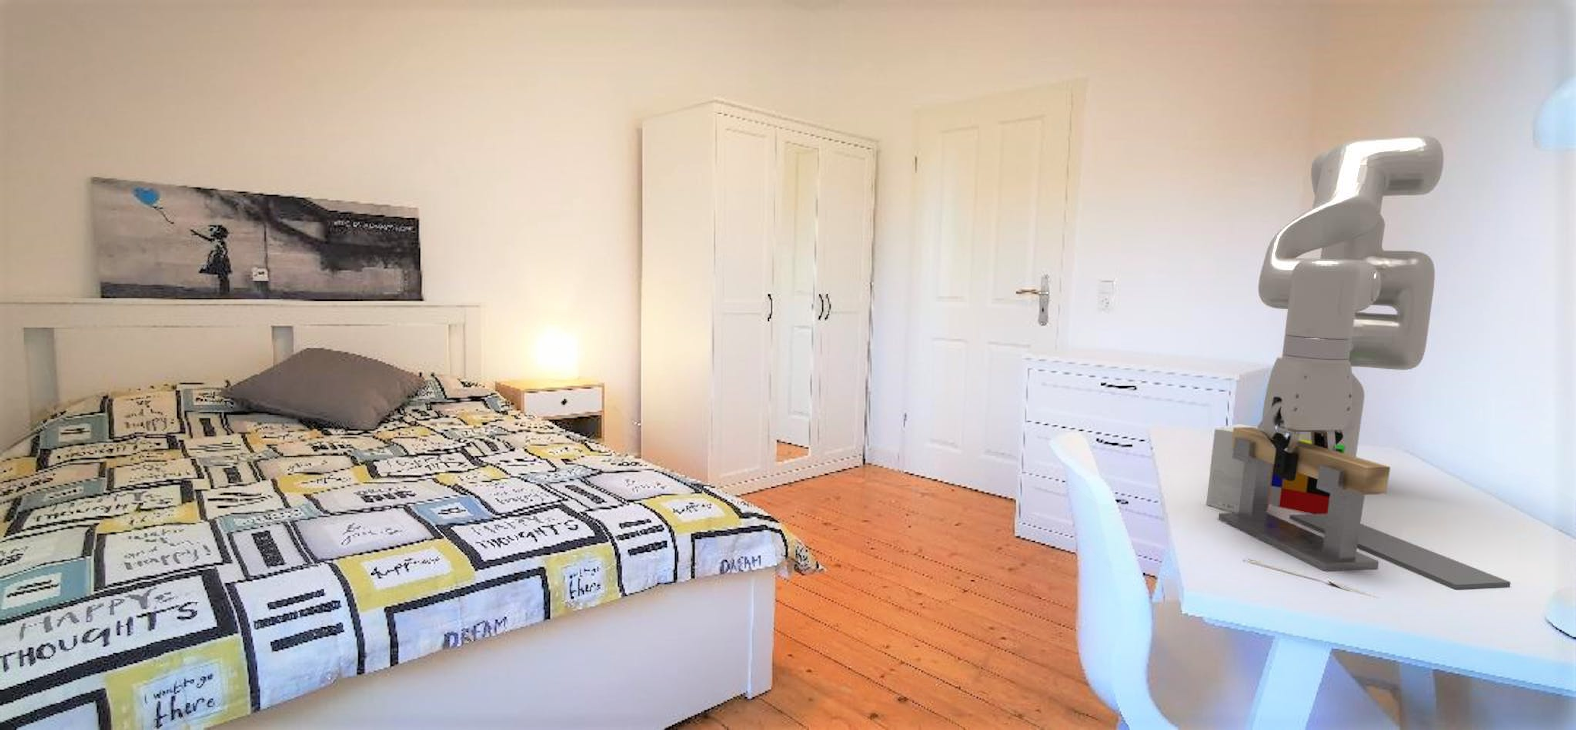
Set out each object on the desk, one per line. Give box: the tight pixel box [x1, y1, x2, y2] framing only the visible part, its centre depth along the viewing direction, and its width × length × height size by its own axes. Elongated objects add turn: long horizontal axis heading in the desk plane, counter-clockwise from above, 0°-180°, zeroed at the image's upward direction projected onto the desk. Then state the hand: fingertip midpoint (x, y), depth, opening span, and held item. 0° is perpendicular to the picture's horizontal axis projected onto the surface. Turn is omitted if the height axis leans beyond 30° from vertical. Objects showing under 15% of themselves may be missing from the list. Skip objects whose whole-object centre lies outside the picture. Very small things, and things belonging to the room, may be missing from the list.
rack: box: [1217, 437, 1379, 572], centre depth 103 cm, size 8×19×13 cm, turn 8°
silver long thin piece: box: [1242, 557, 1381, 600], centre depth 91 cm, size 4×1×19 cm
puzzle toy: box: [1269, 439, 1345, 514], centre depth 122 cm, size 10×10×10 cm
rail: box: [1231, 426, 1391, 495], centre depth 102 cm, size 4×22×4 cm, turn 9°
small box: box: [1205, 423, 1274, 513], centre depth 119 cm, size 8×6×13 cm
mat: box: [1288, 513, 1511, 590], centre depth 103 cm, size 8×25×1 cm, turn 8°
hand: (1299, 476), depth 103 cm, fingers open, 4 cm apart
